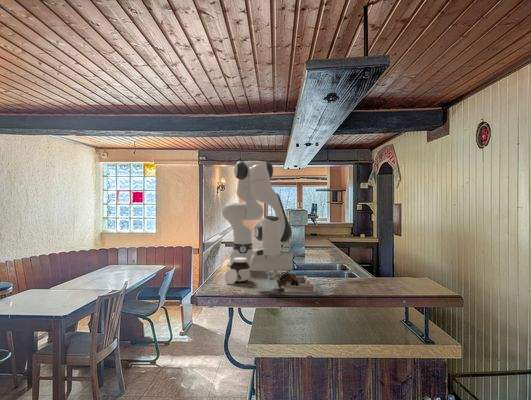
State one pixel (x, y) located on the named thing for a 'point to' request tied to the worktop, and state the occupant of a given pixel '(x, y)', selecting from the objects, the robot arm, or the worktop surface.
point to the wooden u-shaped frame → (309, 288)
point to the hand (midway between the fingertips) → (271, 279)
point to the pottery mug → (287, 280)
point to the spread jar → (238, 271)
